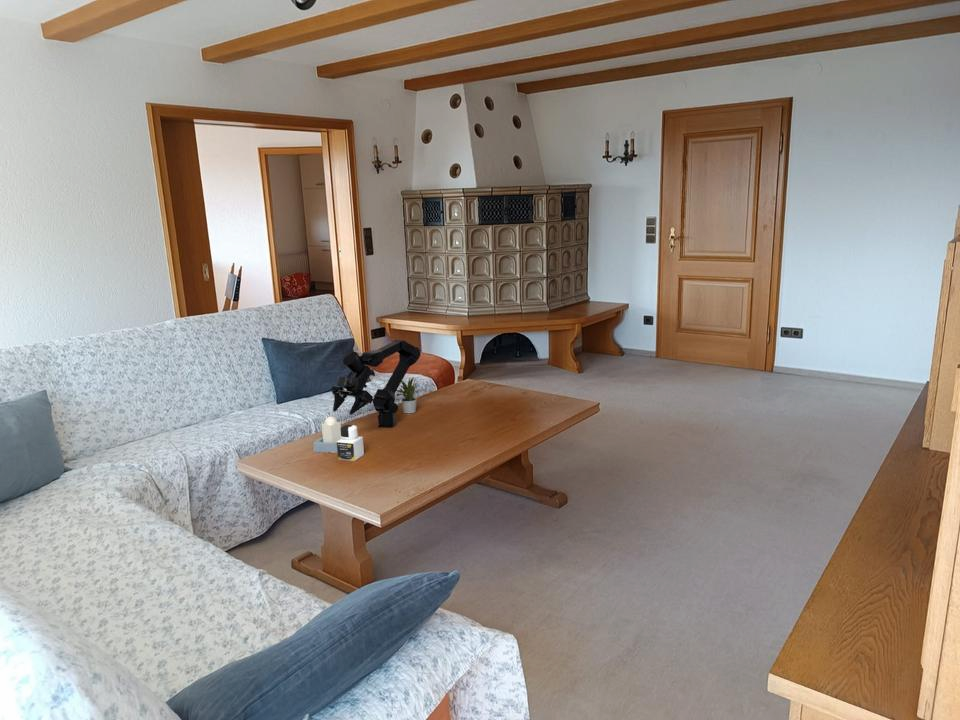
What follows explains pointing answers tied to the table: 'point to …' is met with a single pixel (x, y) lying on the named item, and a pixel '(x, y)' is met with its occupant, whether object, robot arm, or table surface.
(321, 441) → the blue square ring
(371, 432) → the table surface
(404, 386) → the house plant
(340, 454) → the medicine bottle
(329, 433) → the cream egg block
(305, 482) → the table surface
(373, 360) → the robot arm
